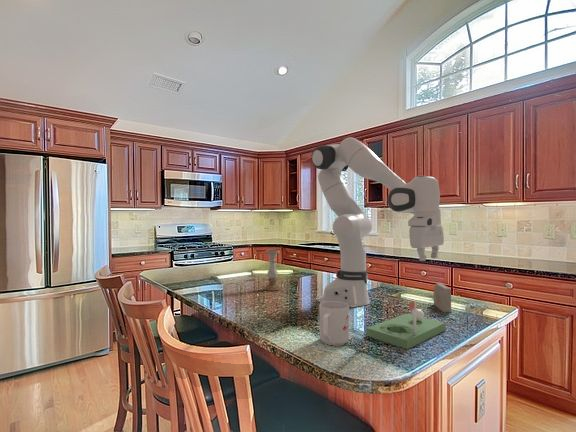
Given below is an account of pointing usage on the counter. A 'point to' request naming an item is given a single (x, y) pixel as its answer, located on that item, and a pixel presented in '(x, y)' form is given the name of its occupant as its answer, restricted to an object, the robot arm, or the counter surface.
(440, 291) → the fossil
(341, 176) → the robot arm
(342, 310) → the mug
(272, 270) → the candle holder
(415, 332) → the green
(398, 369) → the counter surface
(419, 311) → the ball
